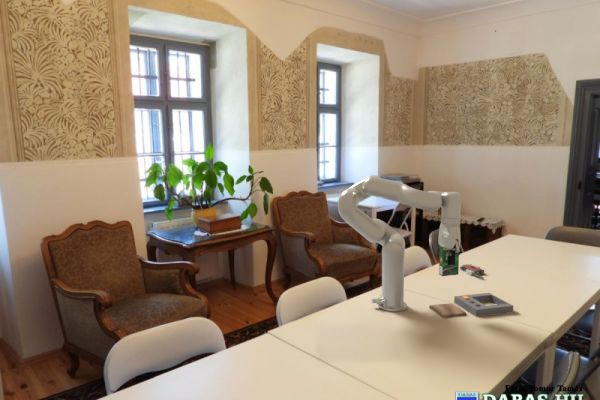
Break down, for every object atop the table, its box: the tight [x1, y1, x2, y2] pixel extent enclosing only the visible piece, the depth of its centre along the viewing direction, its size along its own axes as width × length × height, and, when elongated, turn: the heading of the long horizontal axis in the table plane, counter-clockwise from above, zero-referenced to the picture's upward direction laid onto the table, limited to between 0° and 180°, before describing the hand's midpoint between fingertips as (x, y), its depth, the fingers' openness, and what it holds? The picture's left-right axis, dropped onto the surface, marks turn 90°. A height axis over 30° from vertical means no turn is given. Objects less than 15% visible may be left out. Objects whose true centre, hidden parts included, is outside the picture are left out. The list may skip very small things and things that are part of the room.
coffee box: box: [438, 245, 460, 277], centre depth 180 cm, size 8×3×13 cm, turn 104°
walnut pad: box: [428, 302, 467, 319], centre depth 183 cm, size 11×11×1 cm
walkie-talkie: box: [459, 263, 485, 280], centre depth 233 cm, size 9×4×20 cm
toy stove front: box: [453, 292, 514, 317], centre depth 187 cm, size 18×16×4 cm
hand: (448, 263), depth 180 cm, fingers closed on coffee box, 3 cm apart
